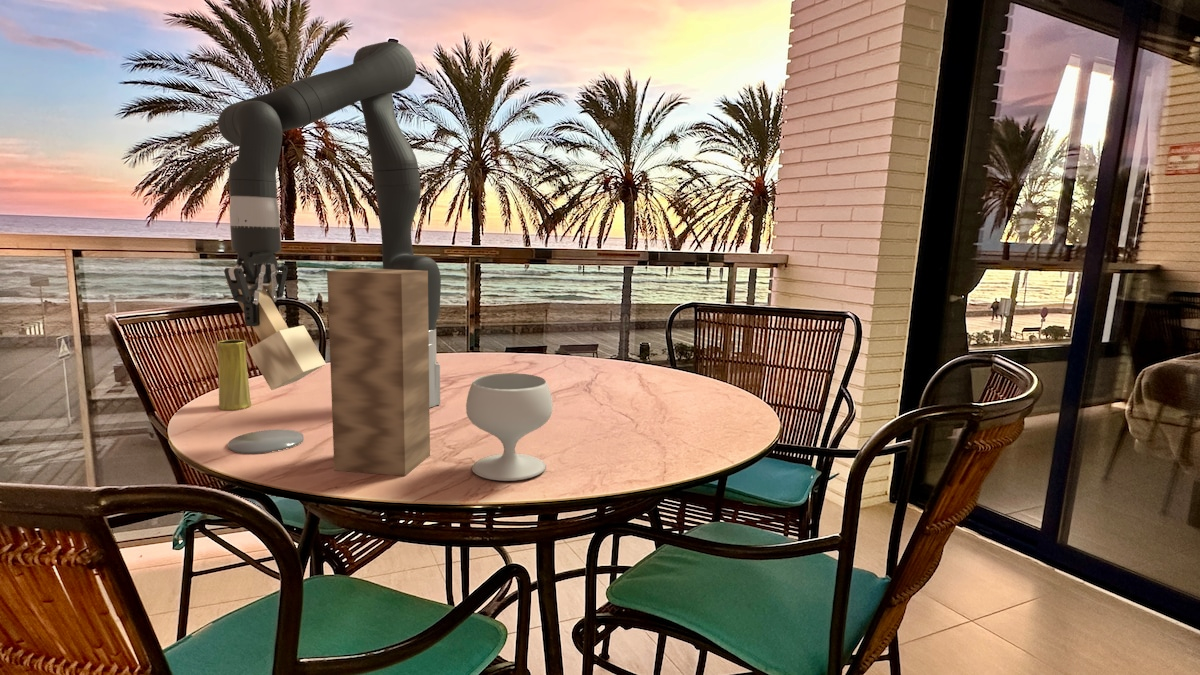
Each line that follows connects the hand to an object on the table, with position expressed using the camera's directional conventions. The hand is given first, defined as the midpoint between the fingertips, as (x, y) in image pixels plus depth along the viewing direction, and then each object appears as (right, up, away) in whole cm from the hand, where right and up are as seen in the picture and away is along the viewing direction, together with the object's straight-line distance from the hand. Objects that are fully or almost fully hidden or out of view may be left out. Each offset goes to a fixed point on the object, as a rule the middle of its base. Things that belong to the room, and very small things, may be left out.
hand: (260, 323), depth 111 cm
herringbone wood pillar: (+23, -23, -5) cm, 33 cm away
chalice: (+44, -24, -6) cm, 51 cm away
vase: (-19, -18, +25) cm, 36 cm away
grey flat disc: (-1, -21, +3) cm, 22 cm away
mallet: (-1, -2, 0) cm, 3 cm away
